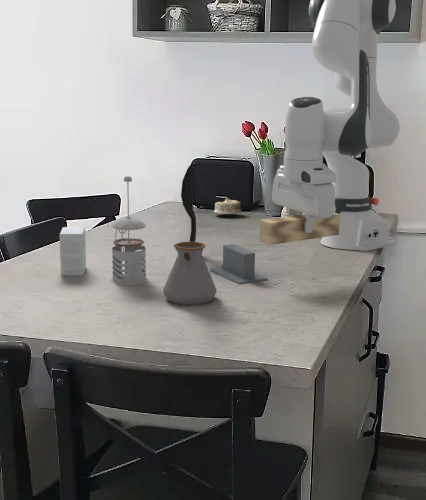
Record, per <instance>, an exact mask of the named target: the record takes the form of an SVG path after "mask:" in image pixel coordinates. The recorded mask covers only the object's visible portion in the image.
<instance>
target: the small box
mask: <svg viewBox="0 0 426 500" xmlns="http://www.w3.org/2000/svg"><path fill="white" fill-rule="evenodd" d="M86 248H87V247H86V227H84V226H69V227H68V226H64V227H63V226H62V228H61V230H60V232H59V253H60V254H59V255H60V256H59V257H60V259H59V260H60V276H84V274H85V272H86V268H87V254H86V253H87V252H86V251H87V250H86Z"/></svg>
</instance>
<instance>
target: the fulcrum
mask: <svg viewBox="0 0 426 500" xmlns="http://www.w3.org/2000/svg"><path fill="white" fill-rule="evenodd" d="M255 260H256V252H254V251H251V250H249V249H247V248H244V247H242V246H239V245H237V244H235V243H232V244H224V245H223V246H222V266H218V267H211V268H210V269H209V273H210V272H211V273H212V274H215V275H217V276H220V277H222V278H224V279H227V280H228V281H230V282H233V283H235V284H237V285H241V284H248V283H249V284H251V283H256V282H258V283H259V282H262V281H263V282H264V281H269V280H268V279H269V278H268V277H266V276H264V275H261V274H259V273H257V272H256V271H255V270H256V268H255V267H256V261H255Z"/></svg>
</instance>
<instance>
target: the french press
mask: <svg viewBox="0 0 426 500" xmlns="http://www.w3.org/2000/svg"><path fill="white" fill-rule="evenodd" d="M132 181H133V179H132V177H131V176H129V175H127V176H124V178H123V182H124V183H125V182H126V184H127V186H126V187H127V191H126V192H127V216H126V217H123V218H119V219H117V220H115V221H113V222H112V223H111V224H110V226H111V227H112V228H113V229H116V230H115V234H114V235H115V236H114V240H113V242H112V243H113V244H114V246H113V247H112V248H111V253H112V256H111V258H112V262H111V263H112V277H111V278H110V279H109V281H110V282H111V283H113V284H116V285H122V286H123V285H125V286H127V285H128V286H129V285H131V286H132V285H139V284H140V285H141V284H143V283H146V282H147V283H148V281H149V278H148V277H147V273H146V272H147V271H146V270H147V268H146V267H147V263H146V259H147V258H146V256H147V254H146V247H145V246H144V243H145V241H144V240H143V239H141V238H132V237H130V231H135V230H136V231H138V230H142V229H144V228H146V226H147V224H146V223H145V222H144V221H142V220H141V219H139V218H135V217H130V206H129V205H130V202H129V201H130V199H129V196H130V195H129V191H130V190H129V183H130V182H132ZM117 233H119V234H120V235H121V238H117ZM125 233H127V236H128V237H124V234H125ZM123 262H124V263H123Z"/></svg>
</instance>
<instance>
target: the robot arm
mask: <svg viewBox="0 0 426 500" xmlns="http://www.w3.org/2000/svg"><path fill="white" fill-rule="evenodd" d="M396 8H397V5H396V0H310V1H309V6H308V15H309V20H310V23H311V24H312V25H313V27H314V30H313V35H312V40H311V41H312V42H311V50H312V51H311V52H312V54H313V56H314V58H315V60H316V61H317V62H318V63H319V64H320V65H321V66H322V67H324V68H325V69H326V70H328V71H331V72H333V73H334V85H335V87H336V89H338V90H339V91H340V92H341V93H342V94H344V95H346V96H349V97H351V98H350V107H333V106H332V107H324V105H323V101H322V100H321V99H320V98H317V97H312V96H301V97H296V98H294V99H292V100H290V101H289V102H288V104H287V111H286V116H285V123H284V143H285V149H284V150H285V151H284V154H283V165H280V166H279V167H278V168H277V170H276V175H274V179H273V184H272V185H273V186H272V192H271V193H272V195H271V197H272V198H271V199H272V202H273V204H274V205H275V204H276V205H279V206H281V207H285V209H286V211H285V212H286V215H287V216H295V215H297V212H299V213H302V214H305V218H307V220H306V222H305V224H303V229H302V230H303V232H306V233H311V232H312V228H313V224H314V222H315V220H316V217H317V218H329V217H331V216H332V215H333V213H337V214H340V225H339V235H335V236H328V237H321V240H320V244H321V245H322V246H325V247H329V248H333V249H339V250H352V251H353V250H354V251H362V252H369V251H373V250H377V249H382V248H385V247H390V246H395V245H398V241H397V239H395V238H393V237H391V236H390V226H389V224H388V222H387V221H386V220H385V219H384V218H383V217H382V216H380V215H379V214H378V213H377V212H376V211H375V210H374V209H373V206H372V205H374V206H378V205H379V203H380V199H379V198H377V197H369V184H370V183H369V182H370V171H369V169H368V166H366V165H365V164H364V163H363V162H361V161H360V160H358V159H356V158H354V157H358V156H359V155H360V154H362V153H363V152H365V151H366V150H367V149H379V148H384V147H390V146H392V145H393V144H394V143H395V141H396V140H397V138H398V137H399V133H400V127H401V126H400V121H399V118H398V116H397V114H396V113H395V112H394V111H392V110H391V108H389V107H388V106H387V105H386V104H385V103H384V101H383V99H382V98H381V96H380V92H379V90H378V86H377V62H378V60H377V59H378V36H377V35H379V34H381V32H382V31H383V30H386V29H387V28H388V27H389V26H390V25H391V24H392V22H393V19H394V17H395V14H396ZM324 158H325V161H326V164H325V163H324V162H323V161H324Z"/></svg>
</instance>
